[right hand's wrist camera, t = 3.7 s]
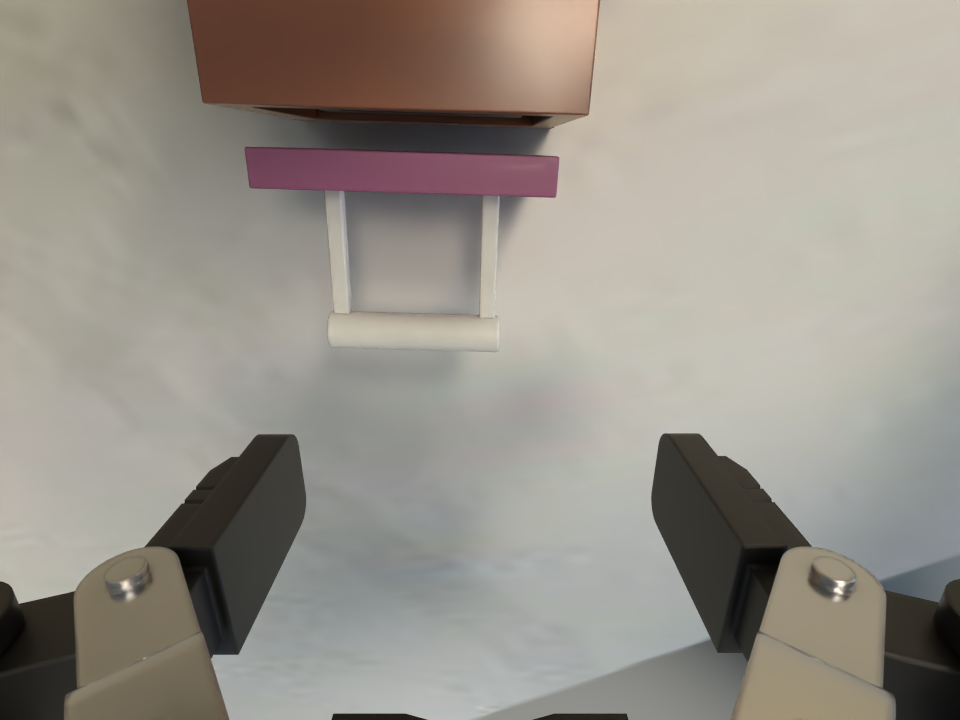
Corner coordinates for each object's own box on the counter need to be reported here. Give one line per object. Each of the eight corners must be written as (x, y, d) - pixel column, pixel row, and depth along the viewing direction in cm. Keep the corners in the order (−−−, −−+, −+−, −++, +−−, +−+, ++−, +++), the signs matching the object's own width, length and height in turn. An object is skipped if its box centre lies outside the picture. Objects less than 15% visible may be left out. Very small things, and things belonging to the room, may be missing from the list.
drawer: (526, 319, 25) (541, 376, 19) (325, 313, 25) (272, 368, 18) (560, -193, 18) (602, -379, 12) (282, -203, 18) (173, -396, 12)
